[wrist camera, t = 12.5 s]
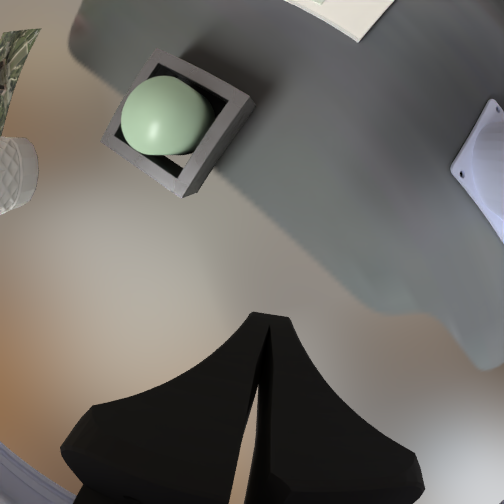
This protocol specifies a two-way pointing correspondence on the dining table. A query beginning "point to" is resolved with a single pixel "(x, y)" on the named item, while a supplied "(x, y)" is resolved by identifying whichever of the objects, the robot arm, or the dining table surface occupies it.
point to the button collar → (210, 145)
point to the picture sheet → (346, 13)
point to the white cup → (17, 172)
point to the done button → (166, 117)
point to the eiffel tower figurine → (12, 64)
